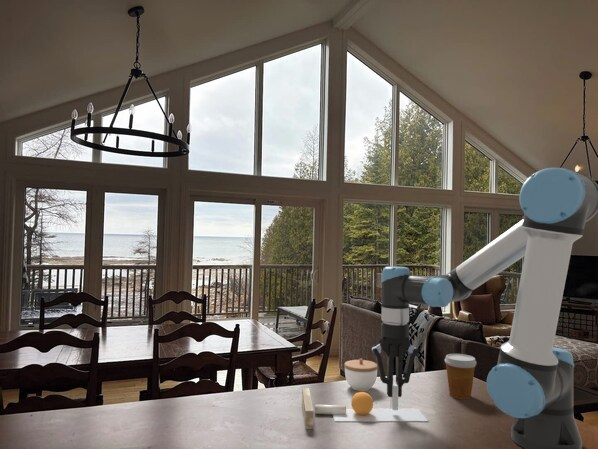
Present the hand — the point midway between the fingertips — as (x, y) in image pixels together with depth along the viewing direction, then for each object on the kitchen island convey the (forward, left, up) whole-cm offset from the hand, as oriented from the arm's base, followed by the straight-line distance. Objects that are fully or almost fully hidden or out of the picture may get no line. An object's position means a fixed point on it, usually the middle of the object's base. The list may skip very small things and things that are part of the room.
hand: (394, 408), depth 128 cm
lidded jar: (+19, -15, -2) cm, 24 cm away
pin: (+11, +8, -1) cm, 13 cm away
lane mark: (+3, +3, -2) cm, 5 cm away
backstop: (+19, +15, -2) cm, 24 cm away
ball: (+7, +5, +1) cm, 9 cm away
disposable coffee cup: (-9, -28, -2) cm, 29 cm away
